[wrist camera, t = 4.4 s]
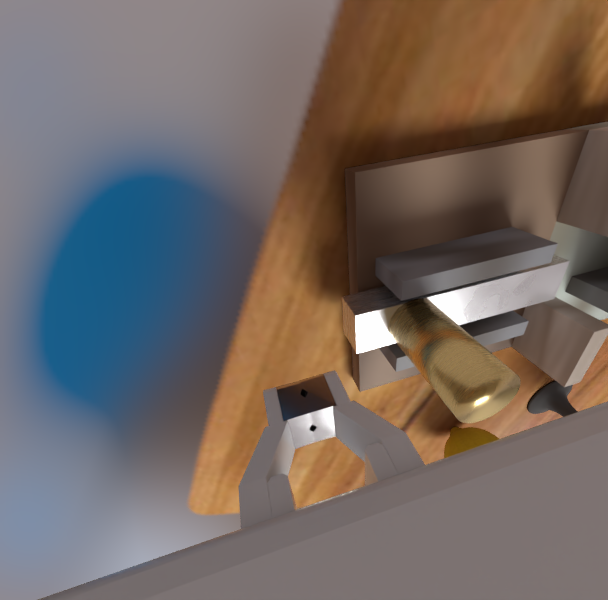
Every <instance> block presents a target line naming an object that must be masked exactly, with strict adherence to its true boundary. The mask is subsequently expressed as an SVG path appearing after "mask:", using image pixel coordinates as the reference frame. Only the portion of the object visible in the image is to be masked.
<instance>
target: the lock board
mask: <svg viewBox="0 0 608 600" xmlns="http://www.w3.org/2000/svg"><path fill="white" fill-rule="evenodd" d="M345 187H346V212H347V237H348V263H349V288H350V295H351V294H355V293H359V292H363V291H367V290H371V289H375V288H379V287H384V286H387V287H388V288H389V289H390V290H391V291H392V292H393V293H394V294H395V295H396V296H397V297H398V298H399V299H400V300H401V301H403V300H407V299H410V298H414V297H418V296H422V295H426V294H430V293H434V292H438V291H442V290H446V289H450V288H453V287H457V286H461V285H465V284H469V283H473V282H477V281H481V280H485V279H489V278H493V277H497V276H500V275H504V274H508V273H512V272H516V271H520V270H524V269H528V268H532V267H536V266H540V265H544V264H547V263H551V261H552V258H553V255H557V256H559V257H562V258H564V259H567V260H569V261H570V262H569V265H568V267H567V269H566V272H565V274H564V277H563V279H562V281H561V284H560V286H559V289H558V291H557V293H556V296H555V298H554V299H552V300H549V301H545V302H541V303H538V304H534V305H531V306H527V307H523V308H520V309H516V310H513V311H509V312H505V313H502V314H498V315H495V316H491V317H487V318H484V319H480V320H476V321H473V322H469V323H466V324H462V325H459V326H460V327H461V328H463V329H464V330H465V331H466V332H467V333H468V334H470V335H471V336H472V337H473V338H474V339H475V340H477V341H478V342H479V343H480V344H481V345H483V346H484V347H485V348H486V349H487V350H488V351H490V352H491V353H492V352H495V351H498V350H502V349H505V348H509V347H513V348H514V349H515V350H516V351H518V352H519V353H520V354H522V355H523V356H524V357H526V358H527V359H528V360H529V361H531V362H532V363H533V364H535V365H536V366H537V367H539V368H540V369H541V370H542V371H544V372H545V373H546V374H548V375H549V376H550V377H551V378H553V379H554V380H555V381H557V382H558V383H559V384H561V385H562V386H563V387H567V386H570V385H573V384H576V383H579V382H580V381H581V380H582V378H583V376H584V374H585V373H586V371H587V369H588V368H589V366H590V364H591V362H592V361H593V359H594V357H595V356H596V354H597V352H598V350H599V349H600V347H601V345H602V344H603V342H604V340H605V338H606V337H607V335H608V324H606V323H604V322H602V321H600V320H603V319H606V318H608V122H603V123H597V124H591V125H586V126H580V127H575V128H569V129H563V130H558V131H552V132H547V133H541V134H535V135H530V136H524V137H519V138H513V139H507V140H502V141H496V142H491V143H485V144H479V145H474V146H468V147H463V148H457V149H451V150H446V151H440V152H435V153H429V154H423V155H418V156H412V157H407V158H401V159H395V160H390V161H384V162H379V163H373V164H367V165H362V166H356V167H351V168H345ZM352 363H353V380H354V382H355V383H356V385H357V387H358V389H359V391H360V392H361V391H364V390H367V389H371V388H374V387H378V386H381V385H384V384H388V383H391V382H394V381H398V380H401V379H404V378H408V377H411V376H415V375H418V374H421V373H420V372H419V371H418V369H417V368H416V367H415V366H414V364H413V363H412V362H411V361H410V359H409V358H408V357H407V356H406V354H405V353H404V352H403V351H402V350H401V348H400V347H399V346H398V345H397V343H394V344H390V345H386V346H383V347H379V348H375V349H372V350H368V351H365V352H361V353H357V354H356V352H355V350H354V349H353V347H352Z"/></svg>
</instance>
